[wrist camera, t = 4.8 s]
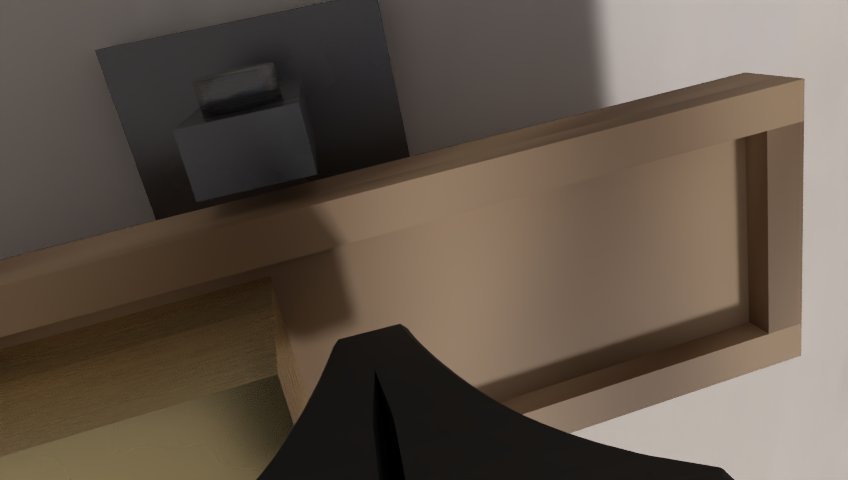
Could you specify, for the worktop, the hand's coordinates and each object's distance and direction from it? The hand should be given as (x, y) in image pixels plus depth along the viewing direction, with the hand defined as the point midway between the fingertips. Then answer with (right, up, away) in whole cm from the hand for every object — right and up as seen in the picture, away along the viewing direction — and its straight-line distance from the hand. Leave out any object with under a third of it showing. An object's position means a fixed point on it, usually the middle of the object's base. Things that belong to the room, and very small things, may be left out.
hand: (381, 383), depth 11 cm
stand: (-2, +2, +6) cm, 7 cm away
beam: (-2, +1, +4) cm, 5 cm away
